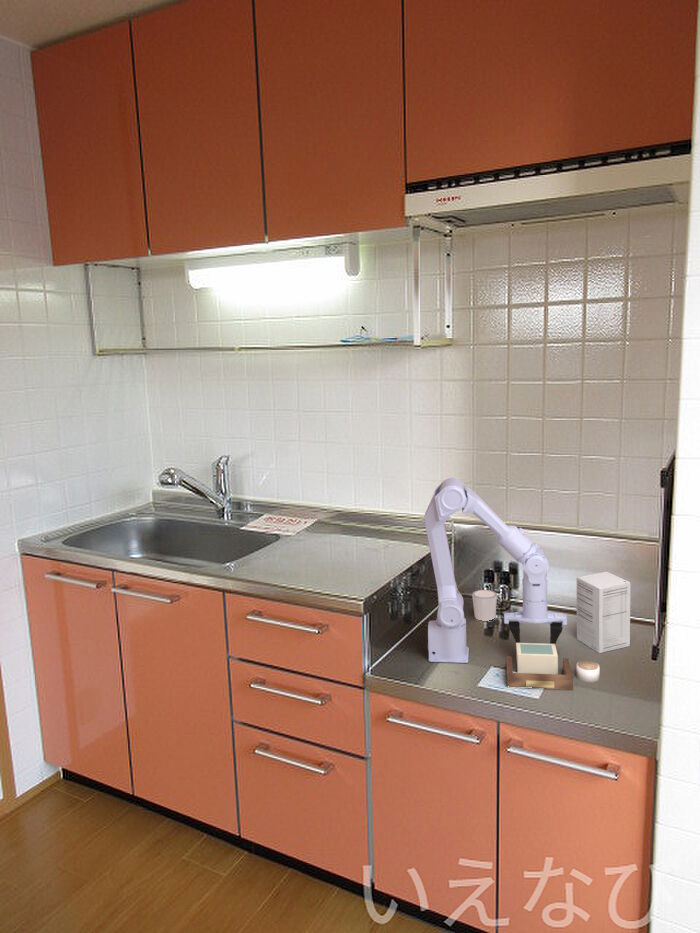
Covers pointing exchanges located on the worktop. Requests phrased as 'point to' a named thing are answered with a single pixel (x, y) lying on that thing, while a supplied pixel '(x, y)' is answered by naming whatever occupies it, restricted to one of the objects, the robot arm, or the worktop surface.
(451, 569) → the robot arm
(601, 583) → the supplement box
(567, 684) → the display stand
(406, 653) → the worktop surface
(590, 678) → the salt pot
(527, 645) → the carton
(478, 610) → the beige tapered cup
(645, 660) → the worktop surface
